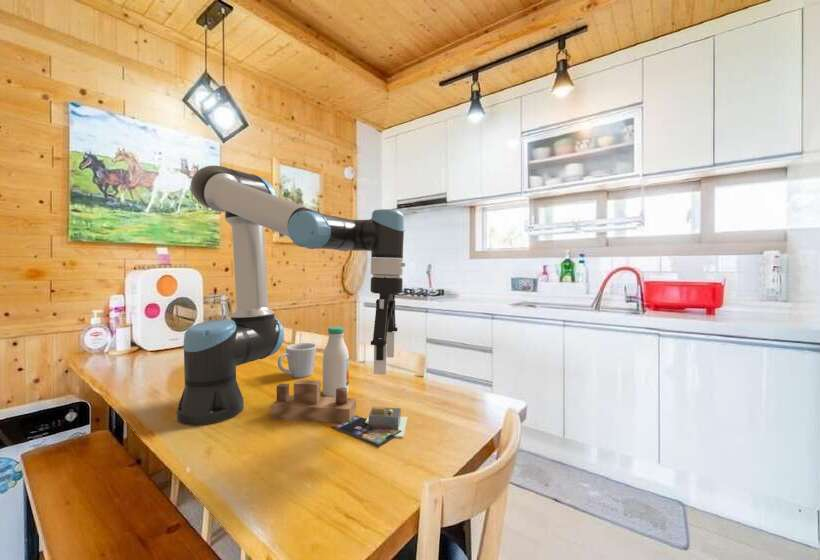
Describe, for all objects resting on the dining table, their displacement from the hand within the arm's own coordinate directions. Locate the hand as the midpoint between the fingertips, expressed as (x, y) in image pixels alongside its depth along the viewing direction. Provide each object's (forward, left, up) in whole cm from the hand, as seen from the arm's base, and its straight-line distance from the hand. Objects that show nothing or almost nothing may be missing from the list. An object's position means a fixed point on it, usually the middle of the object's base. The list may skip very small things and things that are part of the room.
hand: (384, 364), depth 85 cm
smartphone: (-4, -2, -16) cm, 16 cm away
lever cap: (0, 0, -15) cm, 15 cm away
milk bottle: (-18, +20, -15) cm, 31 cm away
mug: (-36, +34, -15) cm, 52 cm away
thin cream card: (0, 0, -15) cm, 15 cm away
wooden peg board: (-19, +4, -15) cm, 24 cm away
